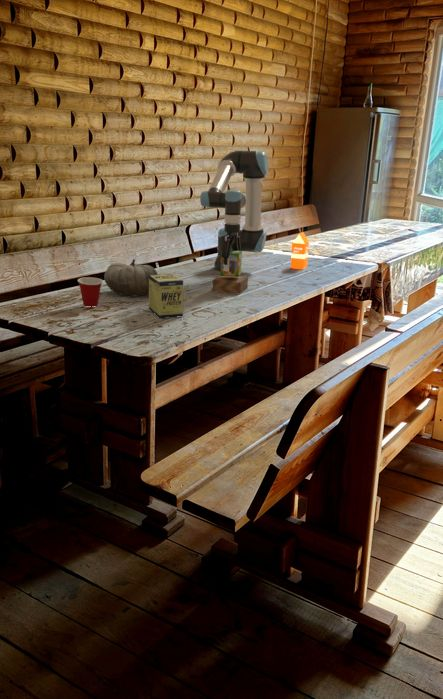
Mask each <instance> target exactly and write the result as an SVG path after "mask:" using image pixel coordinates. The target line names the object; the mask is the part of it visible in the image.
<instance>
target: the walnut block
mask: <svg viewBox="0 0 443 699" xmlns="http://www.w3.org/2000/svg"><path fill="white" fill-rule="evenodd" d="M248 286H249V277H248V276H244V275H239V277H234V276H220V275H218V276H217V277H214V278H213V280H212V292H213V291H217V292H216V293H224V292H225V294H237V295H241V294H243V292H245V291H246V290H247V289H248Z"/></svg>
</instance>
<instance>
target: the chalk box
mask: <svg viewBox="0 0 443 699" xmlns="http://www.w3.org/2000/svg"><path fill="white" fill-rule="evenodd" d="M242 253H243V251H235V250H232V247H231V250H230V253H229V257H228V258H229V272H227V271H223V264H224V258H222V257H221V270H220V275H219V276H234V277H239V276H241V274H242V255H243V254H242ZM221 255H222V252H221Z"/></svg>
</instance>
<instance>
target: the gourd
mask: <svg viewBox="0 0 443 699" xmlns="http://www.w3.org/2000/svg"><path fill="white" fill-rule="evenodd" d="M135 262H136V258H133V259H132V261H131V263H130V264H126V263H122V262H115V263H111V264H110V265H109V266H108V268H107V269H106V270H105V272H104V275H103V277H104V278H103V279H104V280H103V281H104V282H105V284H106V285H107V287H108V288H109V289H110V290H111V291H113V292H114V293H115V294H117V295H121V296H123V297H127V296H130V297H134V296H137V297H138V296H143V295H149V275H158V271H157V270H156V269H155V268H154V267H153V266H151V265H149V264H139V263H138V264H137V263H136V264H135Z"/></svg>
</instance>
